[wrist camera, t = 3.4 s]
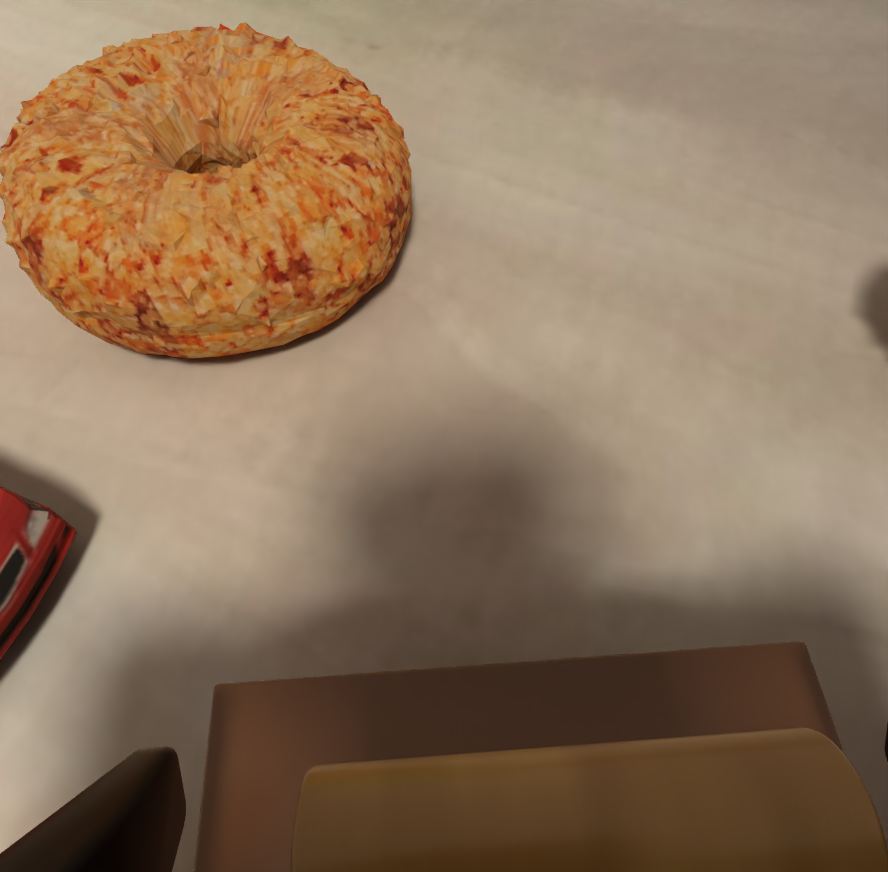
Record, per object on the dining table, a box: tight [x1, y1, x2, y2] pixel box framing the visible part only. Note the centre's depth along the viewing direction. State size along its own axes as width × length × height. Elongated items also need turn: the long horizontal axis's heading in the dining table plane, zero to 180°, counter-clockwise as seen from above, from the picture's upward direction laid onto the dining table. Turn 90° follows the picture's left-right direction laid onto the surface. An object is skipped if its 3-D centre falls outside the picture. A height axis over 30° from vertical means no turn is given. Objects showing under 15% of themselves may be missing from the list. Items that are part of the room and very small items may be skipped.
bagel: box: [0, 23, 412, 358], centre depth 21 cm, size 13×14×5 cm
